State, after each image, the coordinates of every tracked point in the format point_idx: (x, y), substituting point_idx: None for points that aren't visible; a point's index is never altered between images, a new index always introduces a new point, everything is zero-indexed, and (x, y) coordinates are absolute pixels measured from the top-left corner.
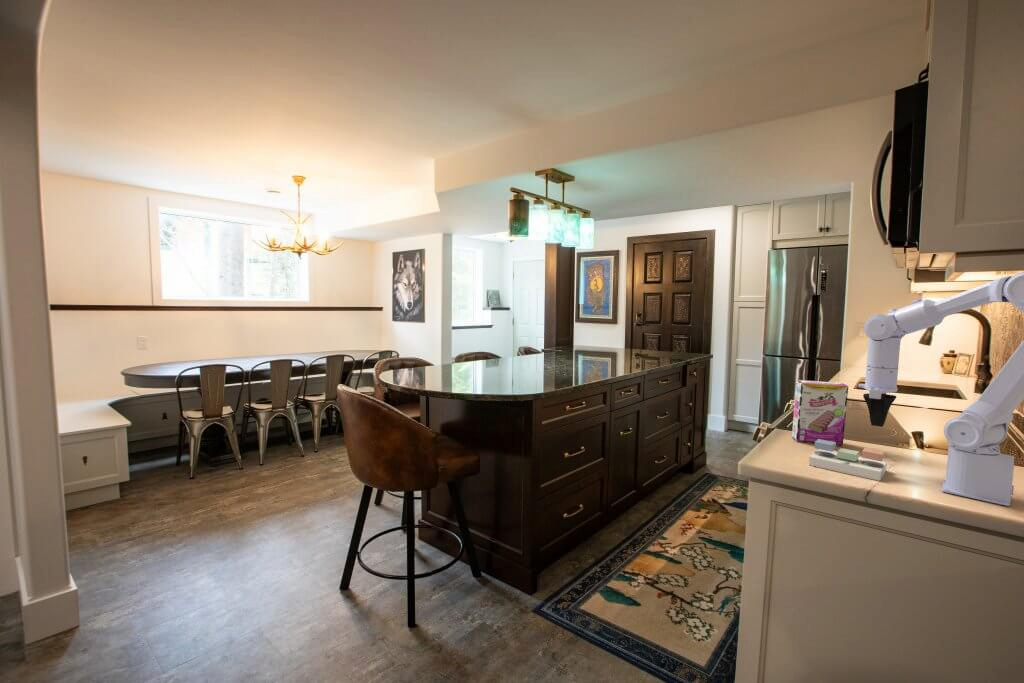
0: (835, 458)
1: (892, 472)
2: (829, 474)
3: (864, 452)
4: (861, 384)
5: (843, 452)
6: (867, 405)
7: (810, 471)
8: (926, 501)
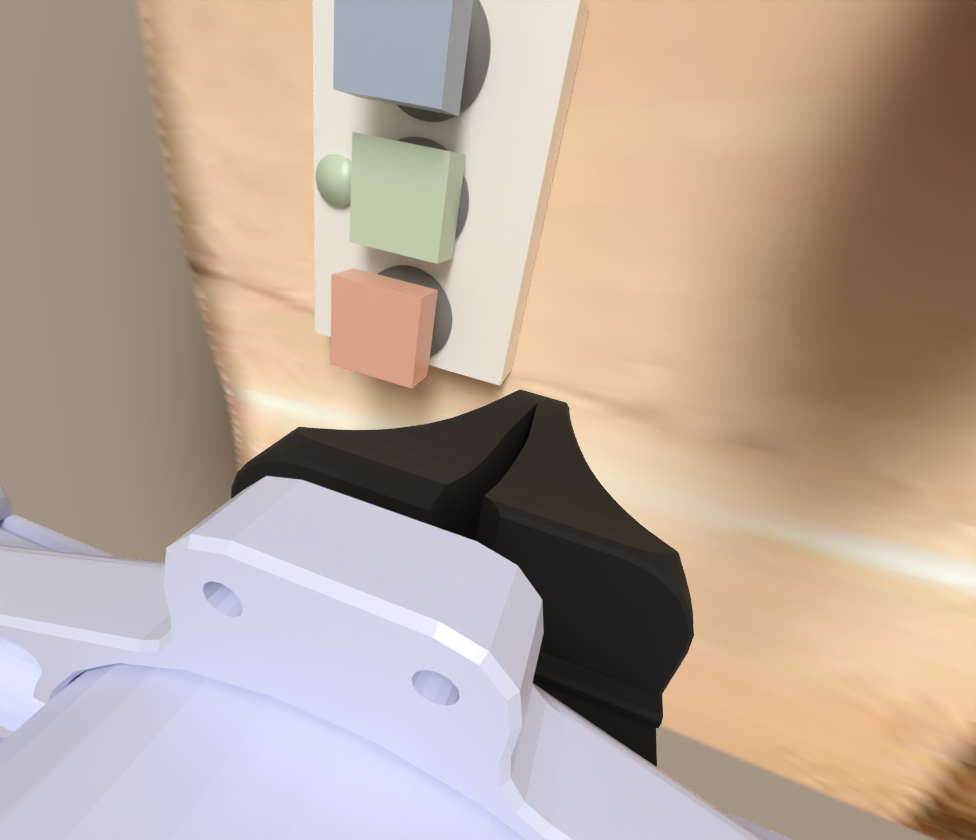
0: (388, 128)
1: (503, 390)
2: (272, 113)
3: (334, 285)
4: (229, 618)
5: (352, 170)
6: (400, 429)
7: (246, 7)
8: (242, 419)
